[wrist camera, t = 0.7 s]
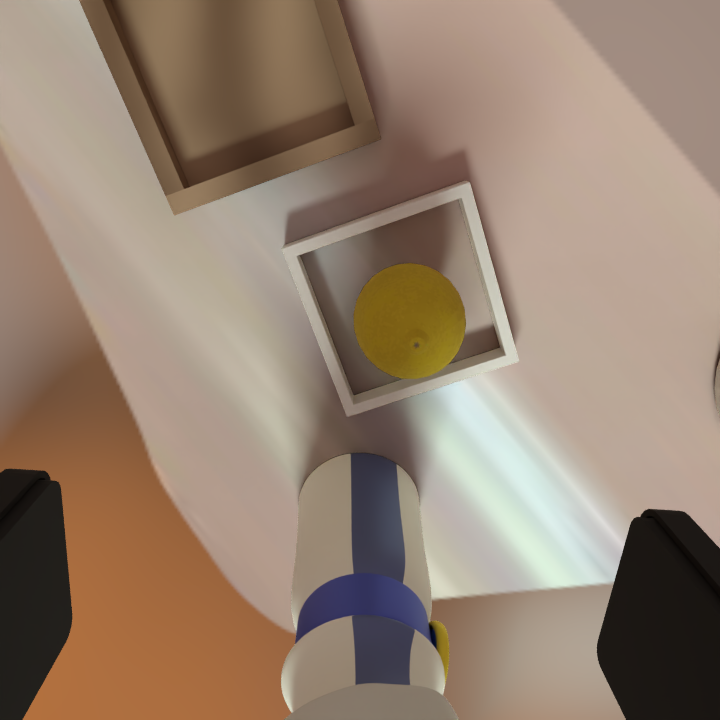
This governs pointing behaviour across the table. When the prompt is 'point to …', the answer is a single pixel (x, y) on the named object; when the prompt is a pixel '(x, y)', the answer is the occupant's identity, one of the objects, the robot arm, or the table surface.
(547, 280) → the table surface
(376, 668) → the water bottle
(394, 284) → the lemon
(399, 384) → the frame
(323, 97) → the tray
